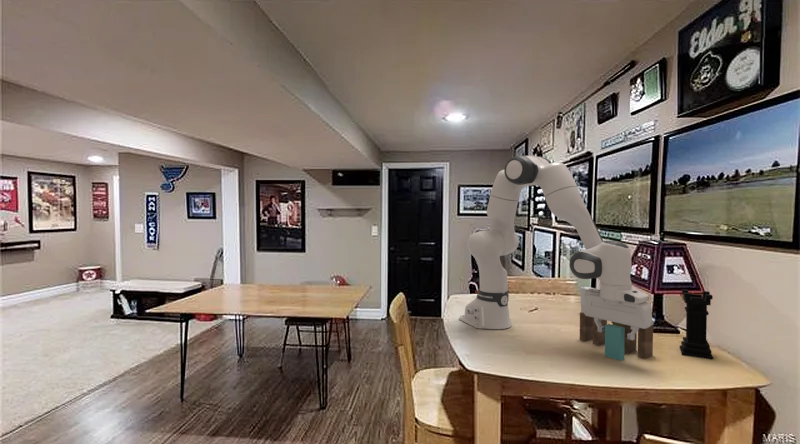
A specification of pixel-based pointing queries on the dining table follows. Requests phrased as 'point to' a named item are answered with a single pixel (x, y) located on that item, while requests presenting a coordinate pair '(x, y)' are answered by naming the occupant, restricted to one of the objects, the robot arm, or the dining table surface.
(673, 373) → the dining table surface
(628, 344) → the domino
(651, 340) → the domino
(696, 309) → the chess piece
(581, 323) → the domino
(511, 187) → the robot arm
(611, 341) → the domino
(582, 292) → the skincare box
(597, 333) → the domino
